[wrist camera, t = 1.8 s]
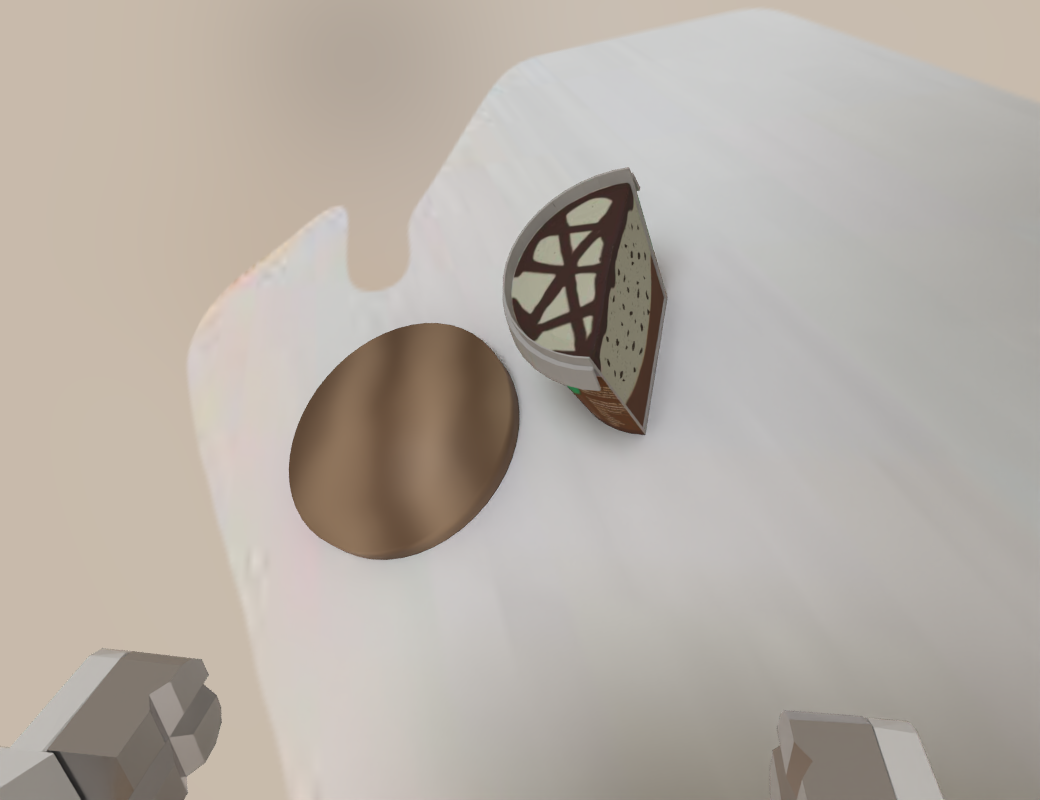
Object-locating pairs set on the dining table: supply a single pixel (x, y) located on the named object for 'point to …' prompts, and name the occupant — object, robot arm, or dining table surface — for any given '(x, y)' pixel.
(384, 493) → the walnut trivet
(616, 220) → the food container
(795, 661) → the dining table surface
